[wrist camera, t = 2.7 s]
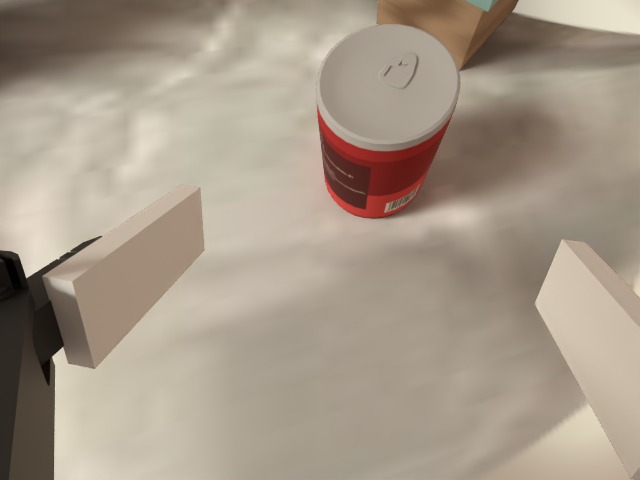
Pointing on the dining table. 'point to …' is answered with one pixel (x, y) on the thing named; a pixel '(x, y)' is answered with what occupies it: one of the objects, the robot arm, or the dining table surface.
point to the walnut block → (448, 21)
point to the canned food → (383, 115)
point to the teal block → (483, 4)
